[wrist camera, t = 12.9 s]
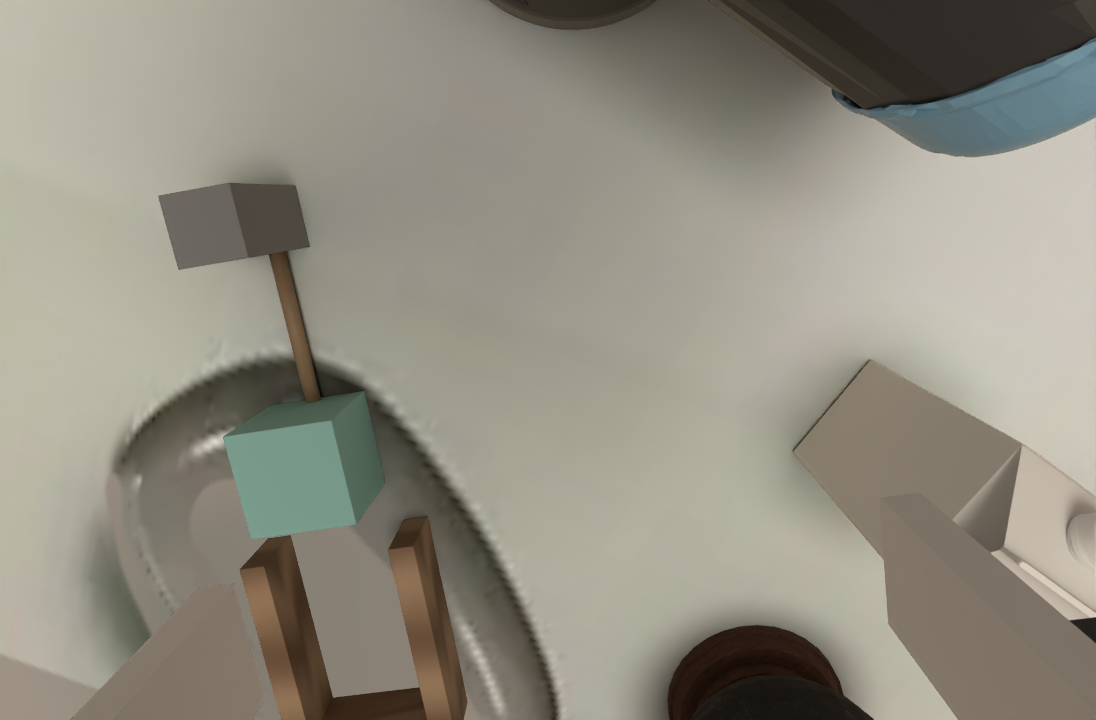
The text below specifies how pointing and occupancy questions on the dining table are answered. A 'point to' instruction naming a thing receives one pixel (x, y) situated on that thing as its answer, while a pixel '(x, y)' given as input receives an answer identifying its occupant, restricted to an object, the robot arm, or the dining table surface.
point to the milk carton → (956, 482)
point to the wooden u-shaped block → (295, 654)
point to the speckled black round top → (758, 680)
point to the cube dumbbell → (314, 423)
